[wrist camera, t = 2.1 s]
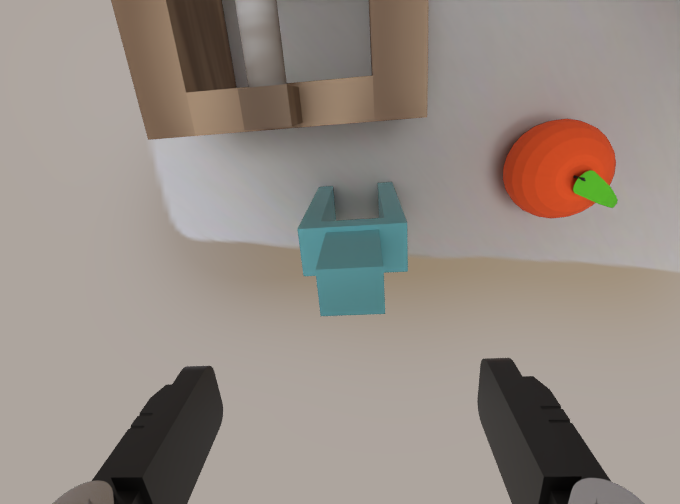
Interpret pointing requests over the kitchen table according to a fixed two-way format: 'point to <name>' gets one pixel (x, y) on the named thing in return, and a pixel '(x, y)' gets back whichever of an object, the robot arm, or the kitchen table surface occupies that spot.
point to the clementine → (560, 169)
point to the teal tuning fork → (353, 252)
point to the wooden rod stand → (263, 69)
